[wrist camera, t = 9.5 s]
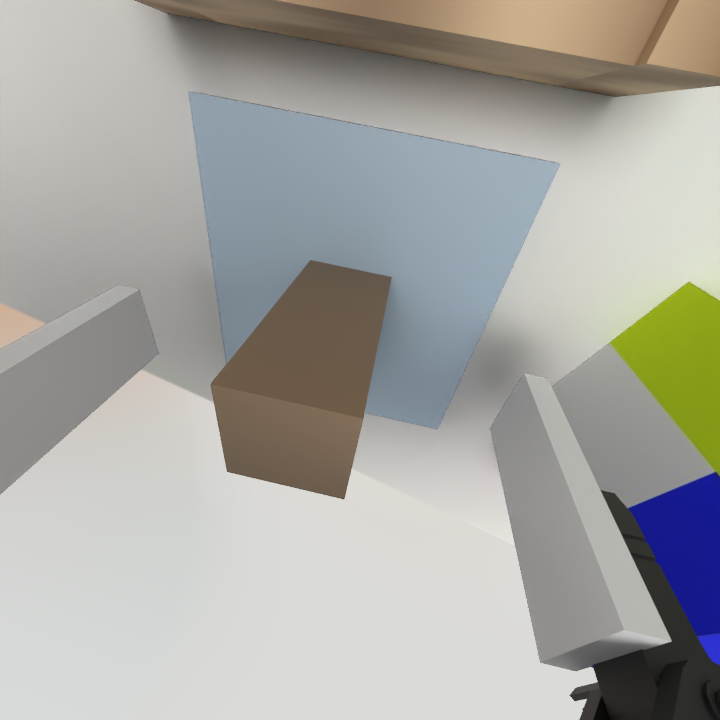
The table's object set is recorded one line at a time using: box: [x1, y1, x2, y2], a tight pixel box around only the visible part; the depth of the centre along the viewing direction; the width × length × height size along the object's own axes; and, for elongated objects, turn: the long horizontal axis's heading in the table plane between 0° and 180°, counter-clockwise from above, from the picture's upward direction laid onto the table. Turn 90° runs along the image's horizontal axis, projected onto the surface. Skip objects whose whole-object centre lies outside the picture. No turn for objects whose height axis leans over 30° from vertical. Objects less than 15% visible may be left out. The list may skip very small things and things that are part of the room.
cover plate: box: [189, 92, 560, 499], centre depth 12 cm, size 12×13×9 cm
